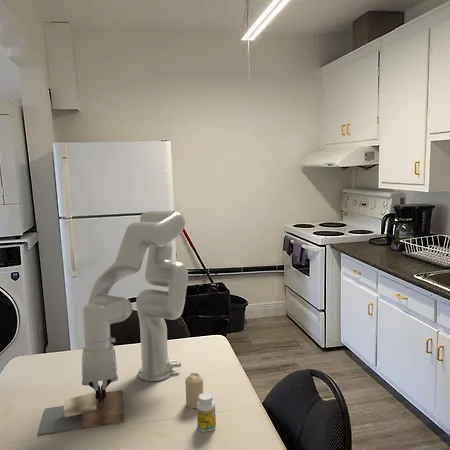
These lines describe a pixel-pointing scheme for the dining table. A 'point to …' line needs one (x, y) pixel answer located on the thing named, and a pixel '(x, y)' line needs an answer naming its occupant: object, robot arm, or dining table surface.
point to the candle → (193, 389)
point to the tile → (79, 404)
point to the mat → (58, 421)
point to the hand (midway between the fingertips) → (101, 400)
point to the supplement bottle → (206, 412)
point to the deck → (105, 411)
